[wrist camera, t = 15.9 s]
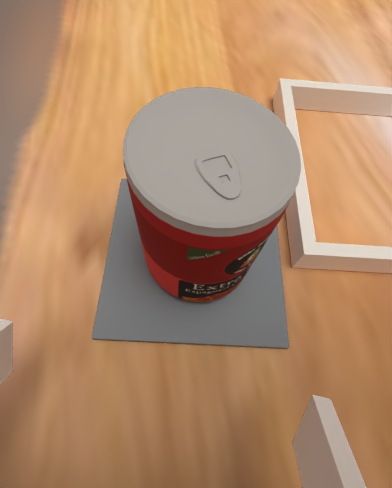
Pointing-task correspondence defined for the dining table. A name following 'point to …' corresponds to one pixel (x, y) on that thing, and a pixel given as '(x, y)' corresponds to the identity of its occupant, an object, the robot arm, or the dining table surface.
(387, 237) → the dining table surface
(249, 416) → the dining table surface
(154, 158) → the canned food
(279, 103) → the corral
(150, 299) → the mat
